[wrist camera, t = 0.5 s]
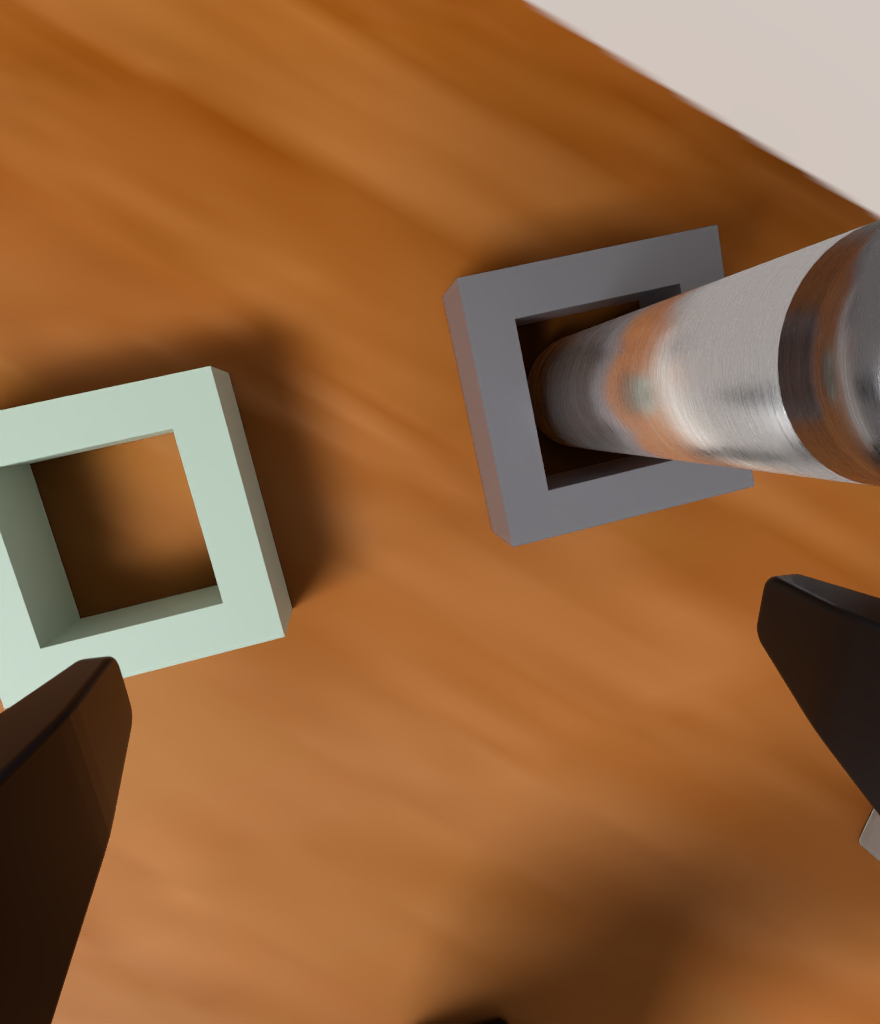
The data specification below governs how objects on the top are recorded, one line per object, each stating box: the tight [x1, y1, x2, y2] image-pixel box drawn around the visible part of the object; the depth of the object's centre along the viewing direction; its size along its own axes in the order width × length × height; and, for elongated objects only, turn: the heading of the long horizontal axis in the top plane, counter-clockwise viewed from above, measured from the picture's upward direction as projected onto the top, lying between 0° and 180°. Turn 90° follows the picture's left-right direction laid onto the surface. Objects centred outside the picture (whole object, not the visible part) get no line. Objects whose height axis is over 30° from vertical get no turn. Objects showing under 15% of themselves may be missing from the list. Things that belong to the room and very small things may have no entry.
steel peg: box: [527, 220, 880, 486], centre depth 16 cm, size 4×4×16 cm
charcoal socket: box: [443, 225, 754, 547], centre depth 22 cm, size 8×8×3 cm
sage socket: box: [0, 366, 292, 709], centre depth 21 cm, size 8×8×3 cm
